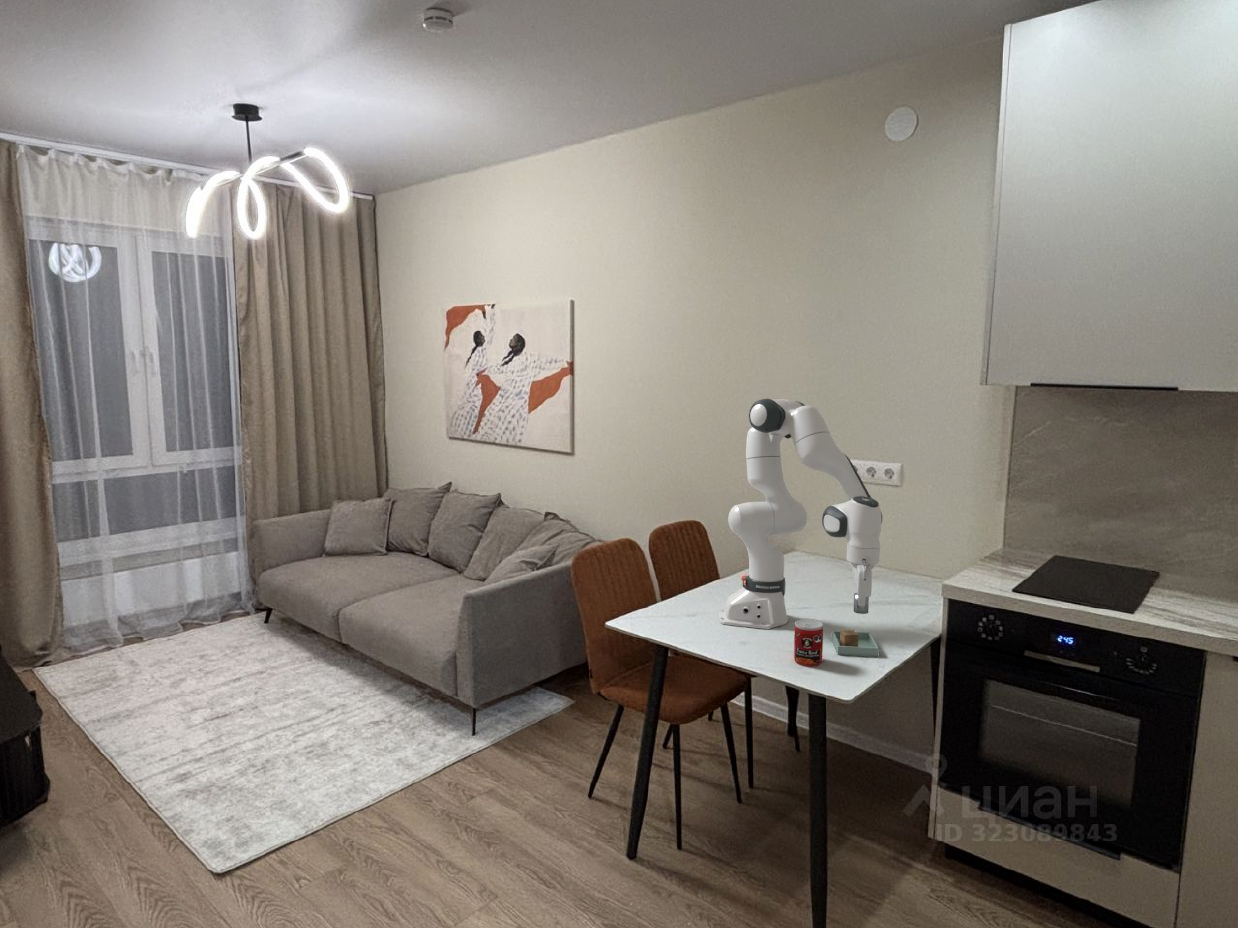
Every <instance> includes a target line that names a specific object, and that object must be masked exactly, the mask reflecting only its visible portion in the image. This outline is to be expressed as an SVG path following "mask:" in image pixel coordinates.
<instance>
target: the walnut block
mask: <svg viewBox="0 0 1238 928" xmlns="http://www.w3.org/2000/svg"><path fill="white" fill-rule="evenodd" d="M839 631H840V646H853V647H858V637H859V635H858V634H857V633H856V632H857V631H856V630H855V629H841V630H839Z"/></svg>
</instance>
